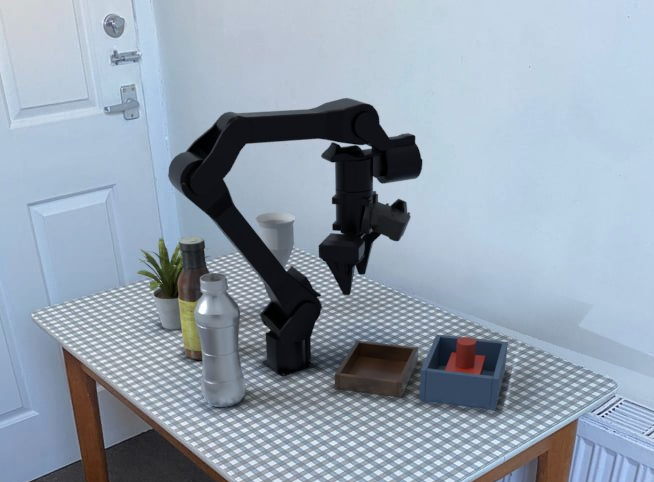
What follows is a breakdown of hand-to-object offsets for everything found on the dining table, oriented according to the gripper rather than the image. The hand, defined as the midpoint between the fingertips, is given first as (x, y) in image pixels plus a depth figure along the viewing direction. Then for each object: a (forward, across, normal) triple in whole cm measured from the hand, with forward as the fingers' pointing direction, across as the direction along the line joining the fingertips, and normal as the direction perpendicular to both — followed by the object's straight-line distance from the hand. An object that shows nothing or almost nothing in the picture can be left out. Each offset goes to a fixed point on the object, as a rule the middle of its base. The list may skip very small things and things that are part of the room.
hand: (354, 284), depth 127 cm
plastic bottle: (+12, -22, +14) cm, 29 cm away
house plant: (+12, +2, +34) cm, 37 cm away
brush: (+11, -8, -20) cm, 24 cm away
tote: (+12, -8, -20) cm, 24 cm away
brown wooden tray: (+12, -8, -6) cm, 16 cm away
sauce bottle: (+12, -7, +25) cm, 29 cm away
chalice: (+12, +13, +18) cm, 25 cm away
